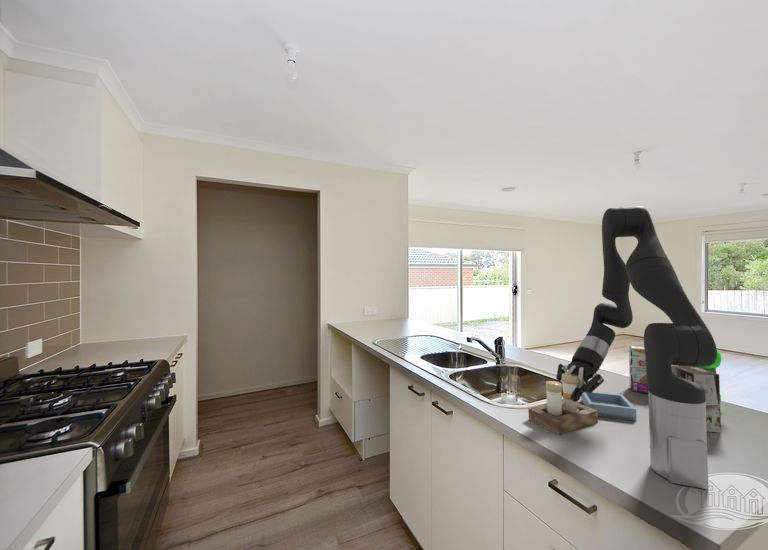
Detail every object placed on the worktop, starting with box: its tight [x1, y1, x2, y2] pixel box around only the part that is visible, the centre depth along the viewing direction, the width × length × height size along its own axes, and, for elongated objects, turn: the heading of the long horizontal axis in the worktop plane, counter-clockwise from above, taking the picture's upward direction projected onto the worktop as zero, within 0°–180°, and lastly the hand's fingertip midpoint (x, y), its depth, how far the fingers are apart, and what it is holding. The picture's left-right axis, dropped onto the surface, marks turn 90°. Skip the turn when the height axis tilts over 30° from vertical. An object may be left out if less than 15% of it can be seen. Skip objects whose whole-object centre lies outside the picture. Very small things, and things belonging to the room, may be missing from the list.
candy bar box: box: [628, 345, 649, 394], centre depth 114 cm, size 11×5×16 cm, turn 58°
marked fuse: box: [562, 373, 579, 413], centre depth 95 cm, size 4×4×12 cm
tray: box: [580, 391, 637, 422], centre depth 100 cm, size 12×12×4 cm
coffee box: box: [671, 365, 722, 434], centre depth 90 cm, size 9×6×16 cm
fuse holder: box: [528, 399, 599, 436], centre depth 93 cm, size 17×10×4 cm, turn 113°
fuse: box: [545, 380, 563, 417], centre depth 92 cm, size 4×4×12 cm
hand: (565, 397), depth 94 cm, fingers closed on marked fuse, 4 cm apart
